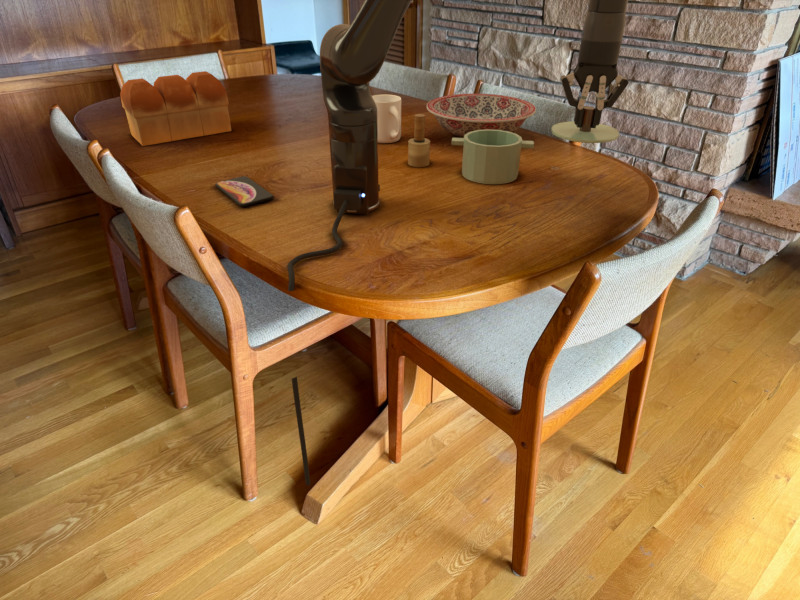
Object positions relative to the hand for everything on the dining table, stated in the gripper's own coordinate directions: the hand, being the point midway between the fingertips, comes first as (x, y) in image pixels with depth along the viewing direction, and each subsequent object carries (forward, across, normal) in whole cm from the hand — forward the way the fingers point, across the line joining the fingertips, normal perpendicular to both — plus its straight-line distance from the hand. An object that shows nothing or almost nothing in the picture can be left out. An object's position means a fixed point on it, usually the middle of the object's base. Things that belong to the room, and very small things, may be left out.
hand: (585, 126), depth 119 cm
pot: (+13, -19, +4) cm, 23 cm away
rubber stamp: (+13, -36, +9) cm, 39 cm away
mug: (+13, -46, +26) cm, 54 cm away
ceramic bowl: (+13, -22, +34) cm, 42 cm away
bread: (+13, -104, +25) cm, 108 cm away
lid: (+1, 0, 0) cm, 1 cm away
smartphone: (+13, -71, -15) cm, 74 cm away
